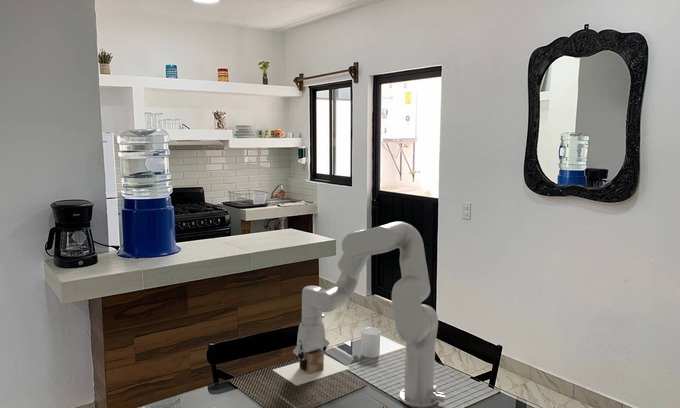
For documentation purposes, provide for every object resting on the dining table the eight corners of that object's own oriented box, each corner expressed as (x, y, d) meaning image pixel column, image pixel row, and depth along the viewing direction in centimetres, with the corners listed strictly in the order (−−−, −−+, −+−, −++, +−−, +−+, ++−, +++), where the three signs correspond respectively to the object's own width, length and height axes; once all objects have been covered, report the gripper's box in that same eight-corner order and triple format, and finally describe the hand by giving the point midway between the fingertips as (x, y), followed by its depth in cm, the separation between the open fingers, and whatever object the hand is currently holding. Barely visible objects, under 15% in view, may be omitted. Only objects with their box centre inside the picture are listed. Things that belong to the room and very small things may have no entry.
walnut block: (313, 363, 199) (313, 346, 198) (323, 369, 194) (323, 351, 193) (299, 368, 195) (299, 349, 194) (309, 374, 190) (309, 355, 189)
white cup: (357, 352, 213) (358, 328, 211) (375, 350, 215) (376, 326, 214) (364, 359, 205) (364, 334, 204) (383, 357, 207) (383, 333, 206)
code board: (324, 356, 208) (324, 354, 208) (350, 369, 195) (350, 368, 195) (272, 371, 193) (272, 369, 193) (296, 387, 180) (296, 385, 180)
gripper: (324, 313, 200) (324, 358, 202) (286, 321, 190) (286, 369, 191) (336, 318, 194) (336, 364, 196) (298, 327, 184) (297, 376, 186)
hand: (311, 366), depth 194 cm, fingers closed on walnut block, 6 cm apart
